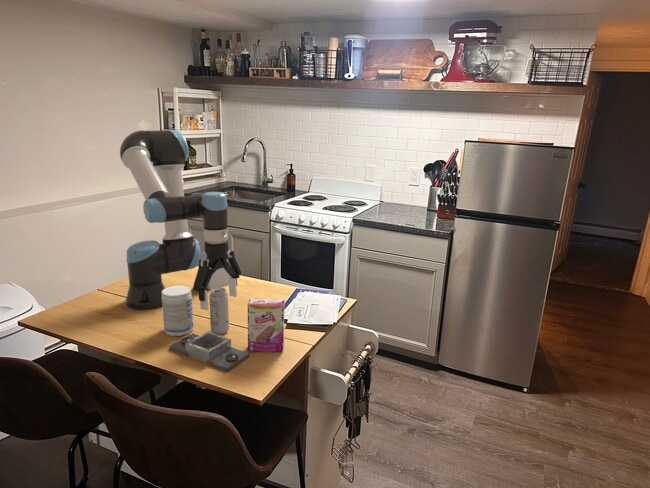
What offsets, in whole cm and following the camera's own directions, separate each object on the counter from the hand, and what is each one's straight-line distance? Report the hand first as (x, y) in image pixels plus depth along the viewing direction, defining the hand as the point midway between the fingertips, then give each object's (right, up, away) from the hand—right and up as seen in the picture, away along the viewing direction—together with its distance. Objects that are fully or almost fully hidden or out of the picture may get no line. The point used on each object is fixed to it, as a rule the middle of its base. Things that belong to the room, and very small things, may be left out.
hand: (219, 302), depth 155 cm
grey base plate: (-1, -14, -10) cm, 18 cm away
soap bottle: (-11, +2, +44) cm, 45 cm away
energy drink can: (-1, -11, +3) cm, 11 cm away
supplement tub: (-14, -10, +3) cm, 18 cm away
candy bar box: (+17, -14, -7) cm, 23 cm away
